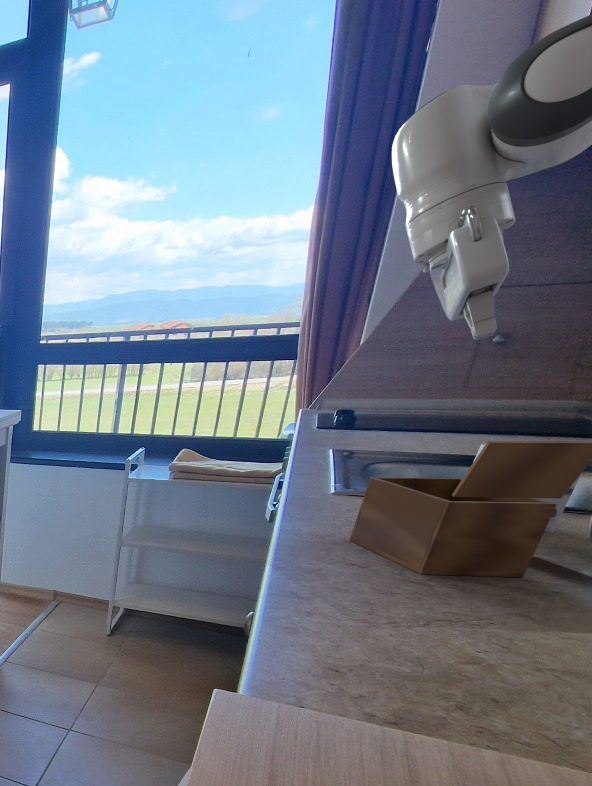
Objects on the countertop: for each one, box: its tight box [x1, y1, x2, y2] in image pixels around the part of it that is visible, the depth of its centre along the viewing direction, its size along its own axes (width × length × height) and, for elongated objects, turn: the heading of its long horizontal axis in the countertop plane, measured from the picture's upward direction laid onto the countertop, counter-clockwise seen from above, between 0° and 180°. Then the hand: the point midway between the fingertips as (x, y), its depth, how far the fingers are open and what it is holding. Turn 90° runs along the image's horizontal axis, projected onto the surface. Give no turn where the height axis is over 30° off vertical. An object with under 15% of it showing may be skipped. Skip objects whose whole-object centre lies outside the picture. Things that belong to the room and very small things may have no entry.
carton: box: [348, 476, 557, 578], centre depth 75 cm, size 10×13×8 cm
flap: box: [452, 440, 592, 498], centre depth 65 cm, size 10×6×1 cm
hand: (485, 336), depth 78 cm, fingers closed
